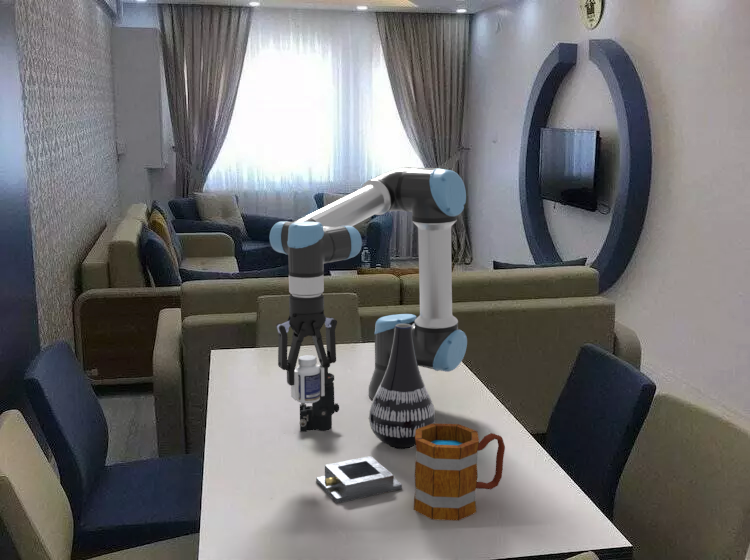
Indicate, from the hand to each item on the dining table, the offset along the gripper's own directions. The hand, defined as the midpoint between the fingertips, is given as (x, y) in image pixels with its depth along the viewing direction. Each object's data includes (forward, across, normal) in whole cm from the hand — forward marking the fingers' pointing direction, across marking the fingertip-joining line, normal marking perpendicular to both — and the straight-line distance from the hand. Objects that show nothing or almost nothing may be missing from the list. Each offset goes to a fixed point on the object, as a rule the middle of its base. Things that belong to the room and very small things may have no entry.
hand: (307, 396), depth 176 cm
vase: (+17, -25, -2) cm, 30 cm away
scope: (+17, -11, -20) cm, 28 cm away
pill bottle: (+1, 0, 0) cm, 1 cm away
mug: (+17, -21, +30) cm, 40 cm away
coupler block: (+16, -6, +14) cm, 22 cm away
